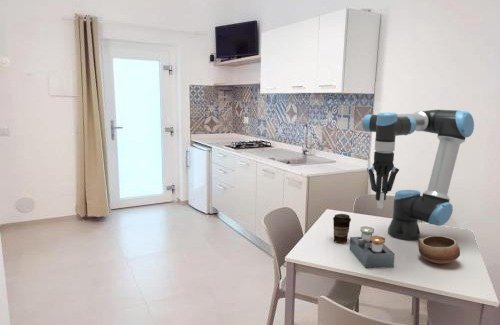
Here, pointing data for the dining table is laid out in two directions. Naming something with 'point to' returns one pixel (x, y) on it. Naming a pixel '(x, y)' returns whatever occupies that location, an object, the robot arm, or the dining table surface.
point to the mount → (372, 255)
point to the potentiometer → (361, 242)
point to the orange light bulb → (377, 244)
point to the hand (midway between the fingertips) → (379, 207)
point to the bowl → (439, 249)
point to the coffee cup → (341, 227)
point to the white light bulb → (366, 233)
